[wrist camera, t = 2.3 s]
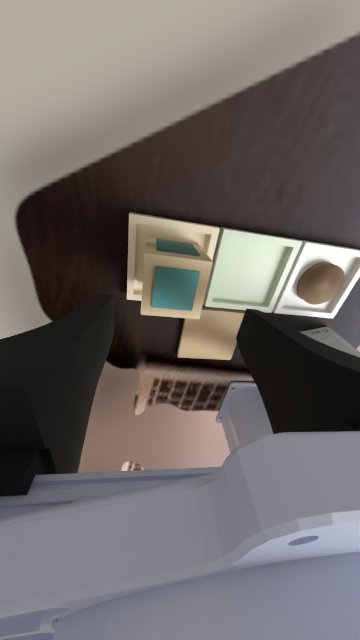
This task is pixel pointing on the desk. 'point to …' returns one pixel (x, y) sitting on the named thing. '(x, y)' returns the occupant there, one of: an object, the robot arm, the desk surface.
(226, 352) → the cork pad
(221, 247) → the tray sage
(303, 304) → the tray white
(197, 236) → the tray sand
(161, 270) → the beige block teal panels
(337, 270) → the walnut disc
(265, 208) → the desk surface
